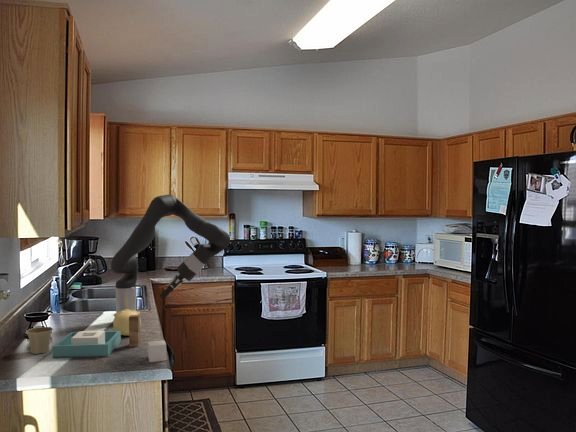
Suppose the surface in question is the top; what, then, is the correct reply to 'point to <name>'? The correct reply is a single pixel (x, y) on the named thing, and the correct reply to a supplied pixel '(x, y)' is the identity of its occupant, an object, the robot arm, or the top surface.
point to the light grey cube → (157, 351)
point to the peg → (134, 330)
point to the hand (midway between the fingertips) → (163, 295)
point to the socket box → (87, 344)
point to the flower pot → (39, 339)
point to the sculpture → (123, 321)
